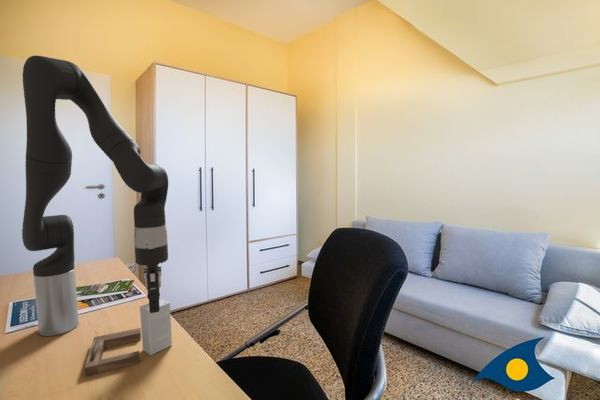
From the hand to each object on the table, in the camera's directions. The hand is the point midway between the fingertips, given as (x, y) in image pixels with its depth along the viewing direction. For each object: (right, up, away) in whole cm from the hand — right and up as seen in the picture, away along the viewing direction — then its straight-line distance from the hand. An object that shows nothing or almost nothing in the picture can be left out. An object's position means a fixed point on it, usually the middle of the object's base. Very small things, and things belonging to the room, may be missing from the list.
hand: (154, 305), depth 79 cm
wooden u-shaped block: (-10, -12, -1) cm, 15 cm away
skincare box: (0, -12, +2) cm, 12 cm away
